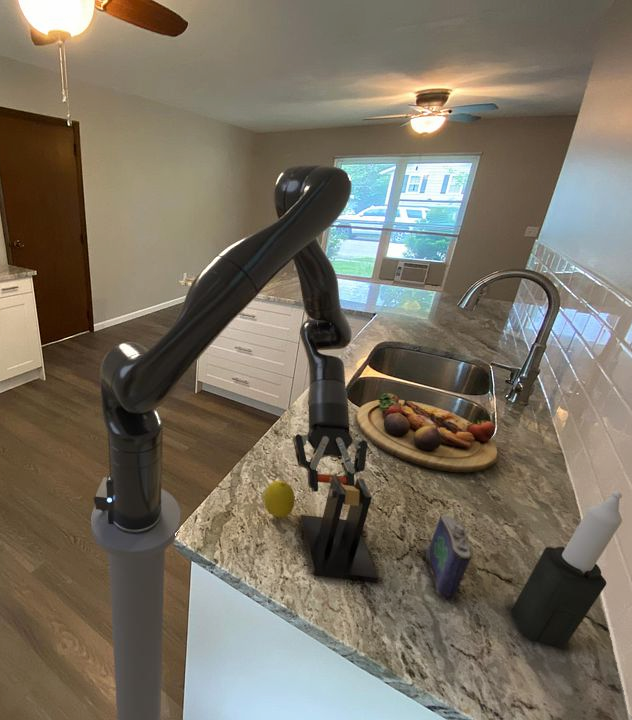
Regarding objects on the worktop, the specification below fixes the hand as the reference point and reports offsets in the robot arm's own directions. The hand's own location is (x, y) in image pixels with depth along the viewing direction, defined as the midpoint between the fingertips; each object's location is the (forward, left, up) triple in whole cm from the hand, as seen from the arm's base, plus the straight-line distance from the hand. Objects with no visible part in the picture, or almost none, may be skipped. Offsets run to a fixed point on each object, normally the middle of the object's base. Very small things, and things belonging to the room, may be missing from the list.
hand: (331, 492), depth 72 cm
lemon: (-10, -1, -6) cm, 11 cm away
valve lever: (0, -4, +3) cm, 5 cm away
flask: (+16, -10, -6) cm, 20 cm away
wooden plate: (+32, +34, -6) cm, 47 cm away
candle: (+26, -17, -6) cm, 32 cm away
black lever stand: (0, -7, -6) cm, 10 cm away
